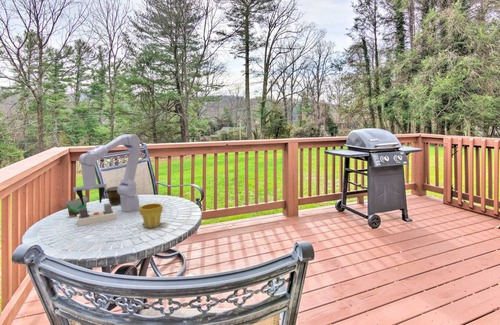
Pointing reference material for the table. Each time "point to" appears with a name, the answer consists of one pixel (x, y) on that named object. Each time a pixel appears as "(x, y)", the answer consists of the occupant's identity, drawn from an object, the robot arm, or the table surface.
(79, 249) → the table surface
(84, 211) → the dark grey square prism
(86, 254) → the table surface
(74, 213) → the food container
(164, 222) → the table surface
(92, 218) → the power strip
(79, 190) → the robot arm
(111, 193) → the ceramic cup
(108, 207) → the charcoal plug
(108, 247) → the table surface
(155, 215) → the plant pot
